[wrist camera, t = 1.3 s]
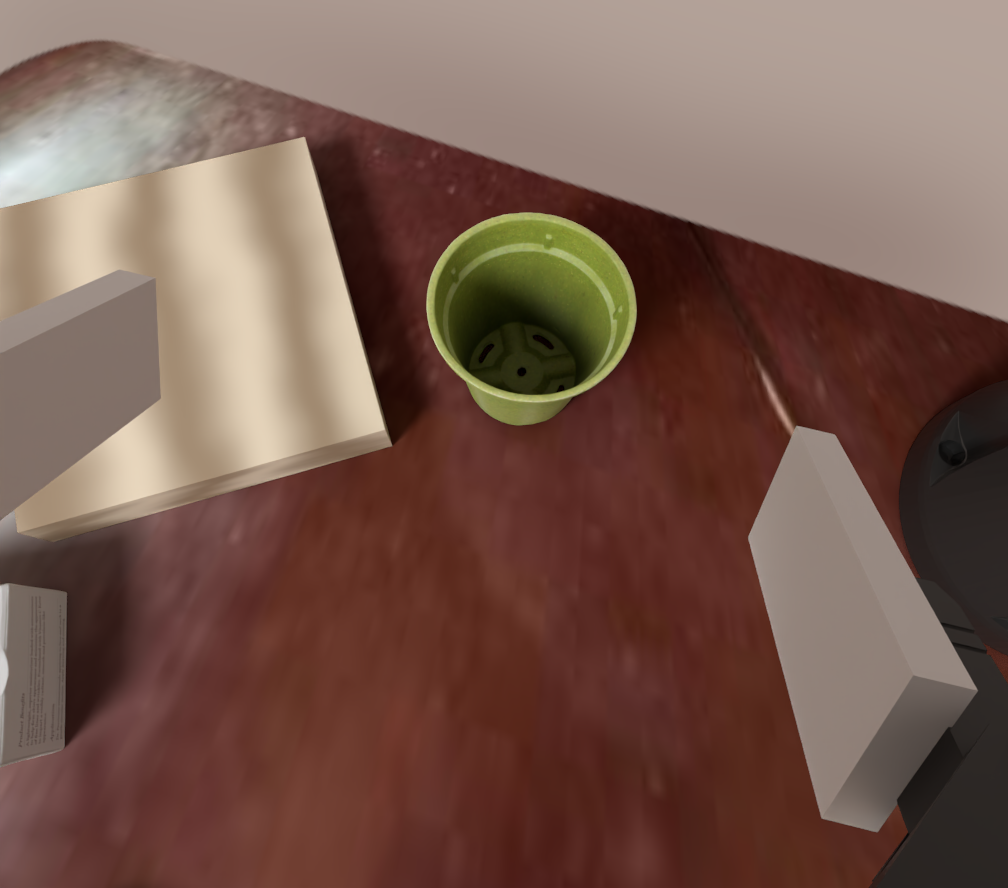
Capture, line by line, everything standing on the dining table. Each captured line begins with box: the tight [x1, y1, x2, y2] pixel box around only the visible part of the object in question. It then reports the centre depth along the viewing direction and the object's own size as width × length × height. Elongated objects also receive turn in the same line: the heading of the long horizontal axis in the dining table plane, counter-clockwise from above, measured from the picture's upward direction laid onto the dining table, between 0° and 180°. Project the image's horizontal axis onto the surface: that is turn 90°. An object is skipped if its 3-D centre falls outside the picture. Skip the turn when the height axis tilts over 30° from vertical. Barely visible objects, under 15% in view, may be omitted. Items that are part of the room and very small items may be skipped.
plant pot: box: [427, 213, 637, 425], centre depth 37 cm, size 9×9×9 cm
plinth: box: [0, 137, 392, 542], centre depth 40 cm, size 18×18×3 cm
